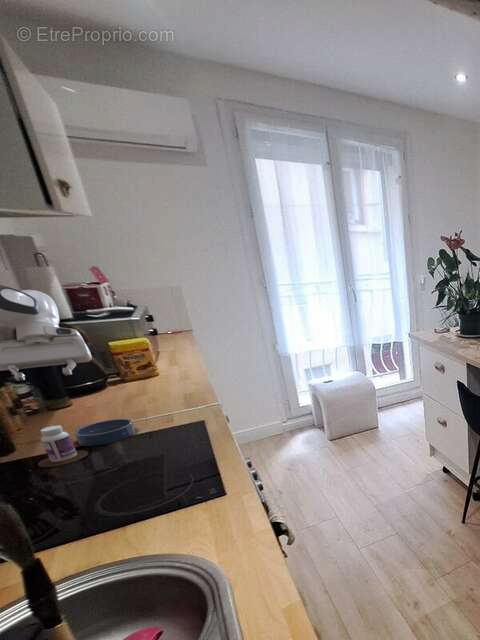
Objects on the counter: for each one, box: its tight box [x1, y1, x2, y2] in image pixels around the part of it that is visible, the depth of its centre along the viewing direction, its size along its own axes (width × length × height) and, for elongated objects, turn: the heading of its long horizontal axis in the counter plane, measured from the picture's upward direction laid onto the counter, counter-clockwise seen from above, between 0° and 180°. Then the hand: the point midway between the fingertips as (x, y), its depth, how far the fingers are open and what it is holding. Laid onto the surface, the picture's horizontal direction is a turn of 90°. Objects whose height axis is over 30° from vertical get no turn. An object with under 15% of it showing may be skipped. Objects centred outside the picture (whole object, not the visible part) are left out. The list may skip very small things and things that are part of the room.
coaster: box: [37, 449, 89, 468], centre depth 119 cm, size 10×10×1 cm
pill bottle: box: [40, 425, 77, 462], centre depth 117 cm, size 5×5×10 cm
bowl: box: [74, 418, 137, 447], centre depth 132 cm, size 13×13×4 cm
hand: (44, 376), depth 120 cm, fingers open, 8 cm apart
